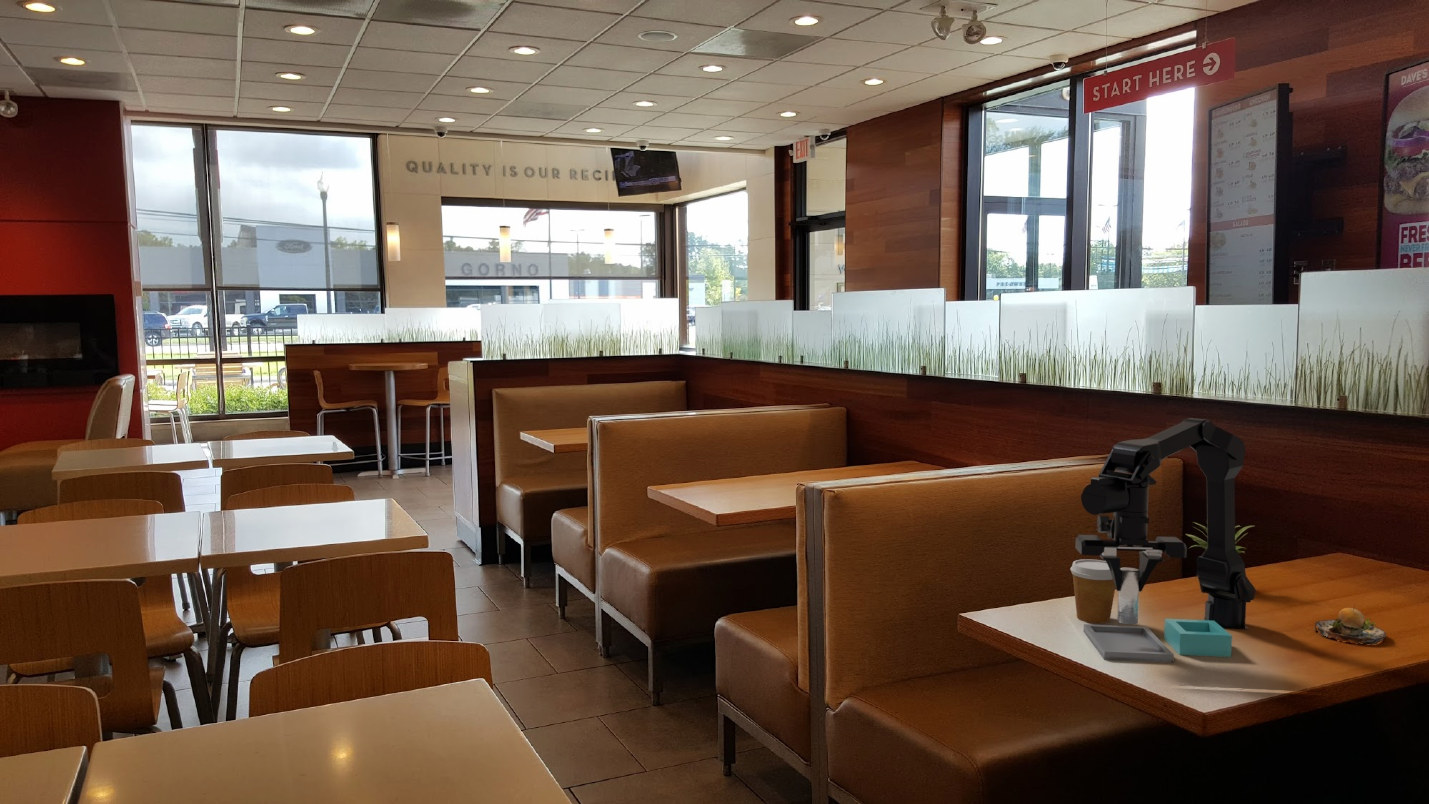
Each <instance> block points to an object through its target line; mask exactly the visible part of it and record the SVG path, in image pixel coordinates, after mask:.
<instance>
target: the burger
mask: <svg viewBox="0 0 1429 804" xmlns="http://www.w3.org/2000/svg"><path fill="white" fill-rule="evenodd" d="M1355 604H1356V603H1355ZM1355 604H1354V605H1353V606H1355ZM1365 619H1366V620H1365ZM1371 620H1372V619H1371V618H1365V615H1364V614H1363V613H1362V612H1361V611H1360V610H1358V609H1356V608H1354V607H1345V608H1342V609H1341V610H1340V611H1339V612H1338V618H1335V619H1323V620H1318V621H1316V622H1314V632H1315V631H1318V632H1317V633H1318V635H1319V634H1320V635H1322V636H1321V637H1323V636H1326V637H1325V638H1329V639H1331V638H1332V639H1335V641H1336V640H1339V641H1346V642H1347V643H1350V644H1351V643H1355V644H1354V645H1357V644H1356V643H1363V644H1377V643H1378V642H1380V641H1382V640H1383V639H1384V638H1385V637H1386V636H1387V634H1386V631H1384V630H1383V629H1381V627H1380V628H1379V627H1376V626H1375V625H1377V623H1376V622H1371ZM1320 635H1319V636H1320ZM1383 637H1384V638H1383ZM1384 640H1385V639H1384Z"/></svg>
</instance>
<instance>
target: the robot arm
mask: <svg viewBox="0 0 1429 804" xmlns="http://www.w3.org/2000/svg"><path fill="white" fill-rule="evenodd" d="M1188 447H1189V448H1190V449H1192V450H1193V451H1194V452H1195V453H1196V460H1197V465H1198V467H1199V469H1200V470H1201V471H1202V473H1203V475H1204V476H1205V478H1206V517H1207V518H1206V524H1207V526H1206V528H1207V530H1206V531H1207V532H1206V534H1207V535H1206V536H1207V537H1208V538H1207V537H1206V538H1207V543H1208V546H1207V549H1206V550H1204V552H1203V553H1202V554H1201V555H1198V556H1197V557H1196V559H1195V562H1196V573H1195V575H1196V576H1197V579H1198V583H1199V587H1200V588H1199V589H1200V592H1201V593H1203V594H1207V600H1206V601H1205V603H1204V619H1203V620H1211V621H1215V622H1216V623H1217V624H1219V625H1220V626H1221V627H1222V628H1223V629H1225V630H1249V627H1248V626H1246V614H1247V613H1246V611H1247V604H1248V603H1251V602H1252V601H1254V599H1255V596H1256V592H1257V591H1256V587H1254V585H1253V583H1252V582H1251V581H1250V579H1249V578H1248V576H1247V574H1246V567H1245V562H1244V560H1243V558H1242V557H1241V555H1240V553H1238V552H1237V550H1238V549H1237V550H1236V548H1235V546H1236V544H1235V542H1236V540H1235V534H1236V528H1235V527H1236V503H1235V502H1236V496H1235V495H1236V494H1235V493H1236V492H1235V491H1236V488H1235V486H1236V485H1235V480H1236V477H1237V475H1239V473H1240V471H1241V470H1242V469H1243V468H1244V467H1243V466H1244V465H1245V463H1244V461H1245V454H1246V445H1245V442H1244V441H1243V440H1242V439H1241V437H1239V436H1237V435H1235V434H1233V433H1231V432H1228V431H1226V430H1225V429H1222V428H1221V427H1219V426H1216V424H1214V423H1213V422H1212V421H1209V420H1208V419H1204V418H1202V419H1201V418H1193V417H1192V418H1191V417H1189V418H1186V419H1183V420H1182V421H1181V422H1180V423H1178V424H1175V425H1173V426H1171V427H1169V428H1166V429H1164V430H1162V431H1160V432H1158V433H1155V434H1153V435H1151V436H1149V437H1147V438H1141V439H1139V438H1138V439H1128V440H1123V441H1119V442H1117V443H1116V444H1114V445H1113V446H1112V449H1111V451H1110V453H1109V454H1108V456H1107V458H1106V460H1105V462H1104V464H1103V466H1102V468H1101V470H1100V471H1099V473H1098V477H1097V476H1093V477H1091V478H1090V483H1089V484H1087V485H1086V486H1085V487H1084V488H1083V490H1082V493H1081V494H1080V501H1081V505H1082V507H1083V509H1084V510H1085V511H1086V512H1087V513H1089V514H1090V515H1093V516H1096V515H1097V518H1096V519H1097V520H1096V522H1097V523H1096V527H1097V529H1096V531H1097V533H1098V534H1099V533H1100V534H1102V533H1103V534H1107V540H1106V539H1102V538H1101V537H1100V536H1099V535H1097V534H1078V535H1077V536H1076V538H1075V546H1074V548H1075V549H1076V550H1077V552H1078V553H1079V554H1081V555H1083V556H1093V557H1094V556H1099V557H1100V558H1101V559H1102V561H1106V562H1107V564H1108V567H1109V569H1110V572H1111V575H1112V578H1113V582H1114V585H1115V591H1120V568H1121V558H1120V556H1118V555H1117V554H1118V553H1117V552H1118V551H1121V552H1122V551H1123V552H1127V551H1128V552H1138V553H1139V554H1138V555H1139V565H1138V566H1139V568H1138V570H1140V580H1139V593H1140V592H1141V593H1142V591H1143V589H1144V587H1145V585H1146V583H1147V582H1148V579H1149V578H1150V576H1151V574H1152V572H1153V571H1154V570H1155V568H1156V567H1157V566H1158V564H1159V562H1161V563H1163V562H1164V561H1165V558H1164V557H1162V555H1163V553H1164V554H1165V555H1166V556H1168V558H1171V559H1186V558H1187V556H1188V555H1187V553H1188V548H1187V545H1186V543H1185V542H1184V541H1182V540H1181V539H1179V538H1178V537H1176V536H1156V539H1155V541H1151V540H1149V539H1148V524H1149V523H1150V518H1149V516H1148V514H1149V513H1148V512H1149V488H1150V487H1149V486H1155V485H1157V480H1156V479H1155V478H1153V477H1152V476H1151V474H1152V473H1153V472H1154V471H1156V470H1157V469H1158V468H1160V467H1161V466H1162V461H1163V460H1164V459H1166V458H1168V457H1169V456H1172V455H1175V454H1176V453H1179V452H1180V451H1182V450H1185V449H1187V448H1188ZM1111 513H1113V514H1112V519H1110V515H1105V514H1111ZM1108 539H1109V540H1108Z"/></svg>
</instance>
